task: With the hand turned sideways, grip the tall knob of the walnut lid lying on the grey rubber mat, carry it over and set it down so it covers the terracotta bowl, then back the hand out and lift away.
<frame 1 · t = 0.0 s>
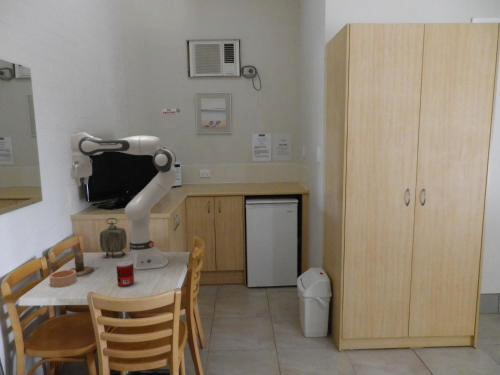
hand: (82, 185, 206), 48 cm above the table, tool pointing down, fingers open, 8 cm apart
lid: (79, 262, 200), on the mat
canned food: (126, 284, 183), on the table
bowl: (63, 283, 186), on the table
mat: (80, 272, 201), on the table
tabletop clock: (114, 256, 230), on the table
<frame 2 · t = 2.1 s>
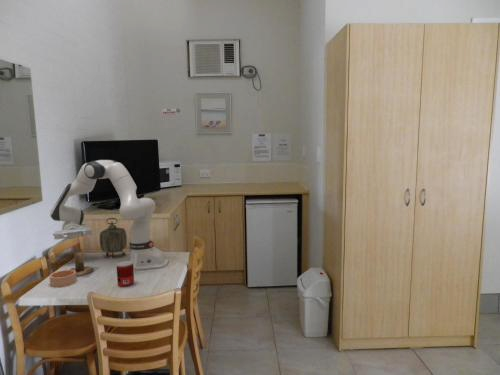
hand: (74, 236, 209), 18 cm above the table, tool horizontal, fingers open, 8 cm apart
nothing on the table moved.
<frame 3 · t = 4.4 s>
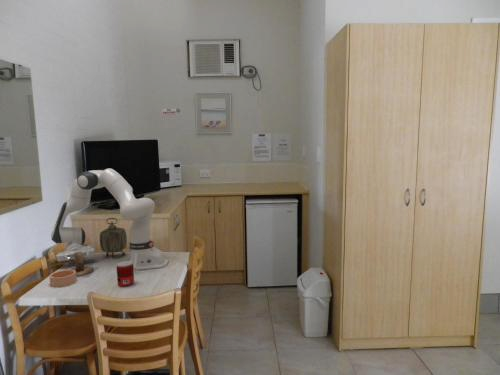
hand: (77, 257, 206), 7 cm above the table, tool horizontal, fingers open, 8 cm apart
nothing on the table moved.
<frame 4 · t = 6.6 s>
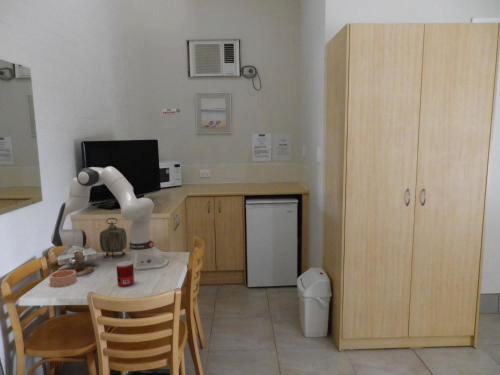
hand: (79, 261, 199), 7 cm above the table, tool horizontal, fingers closed on lid, 4 cm apart
lid: (79, 262, 200), on the mat, touching gripper
everything else where it was.
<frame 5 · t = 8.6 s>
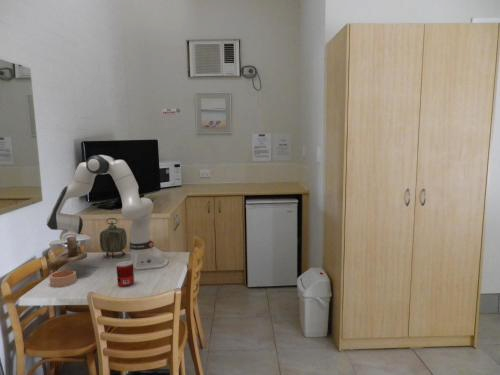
hand: (72, 246, 193), 17 cm above the table, tool horizontal, fingers closed on lid, 4 cm apart
lid: (72, 247, 194), point 16 cm above the table, touching gripper
everything else where it was.
when the fingers open (13 cm above the table, at t = 10.6 s): lid drops 1 cm, resting on bowl.
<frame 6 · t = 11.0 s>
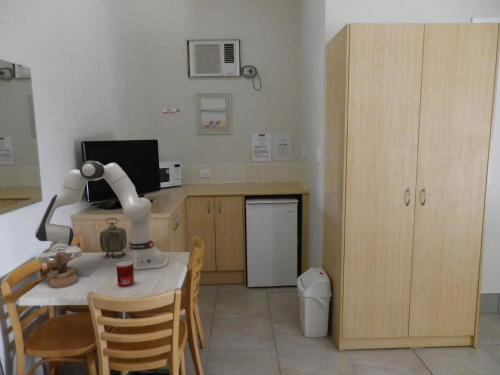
hand: (61, 259, 183), 13 cm above the table, tool horizontal, fingers open, 8 cm apart
lid: (62, 263, 185), on the bowl, point 10 cm above the table
everything else where it was.
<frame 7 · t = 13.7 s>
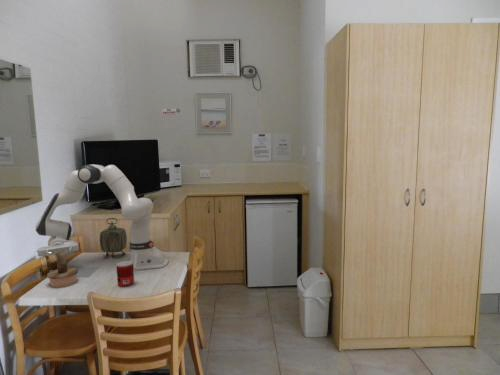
hand: (59, 252, 194), 13 cm above the table, tool horizontal, fingers open, 8 cm apart
nothing on the table moved.
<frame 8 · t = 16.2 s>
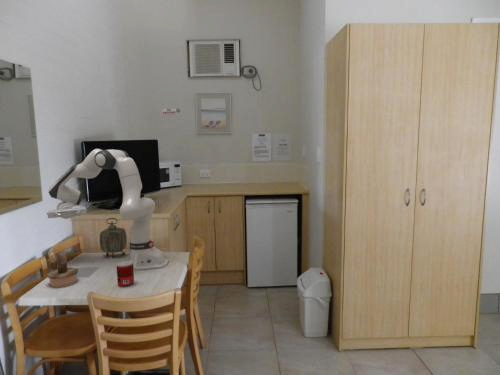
hand: (68, 214, 203), 32 cm above the table, tool horizontal, fingers open, 8 cm apart
nothing on the table moved.
at the end: lid 0.0 cm off-centre on the bowl, point 10.5 cm above the bowl's base; lid tilted 0°; the gripper is holding nothing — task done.
